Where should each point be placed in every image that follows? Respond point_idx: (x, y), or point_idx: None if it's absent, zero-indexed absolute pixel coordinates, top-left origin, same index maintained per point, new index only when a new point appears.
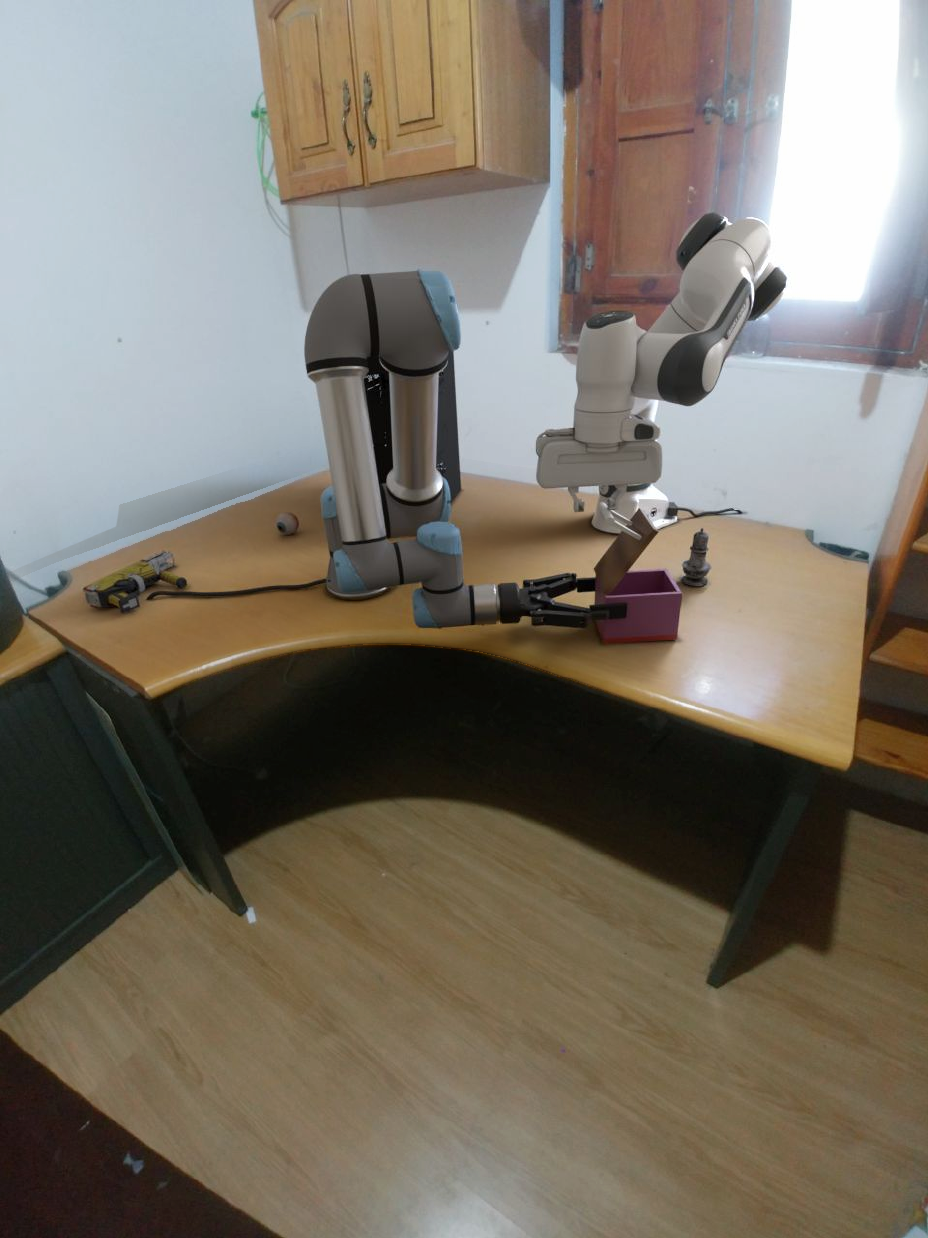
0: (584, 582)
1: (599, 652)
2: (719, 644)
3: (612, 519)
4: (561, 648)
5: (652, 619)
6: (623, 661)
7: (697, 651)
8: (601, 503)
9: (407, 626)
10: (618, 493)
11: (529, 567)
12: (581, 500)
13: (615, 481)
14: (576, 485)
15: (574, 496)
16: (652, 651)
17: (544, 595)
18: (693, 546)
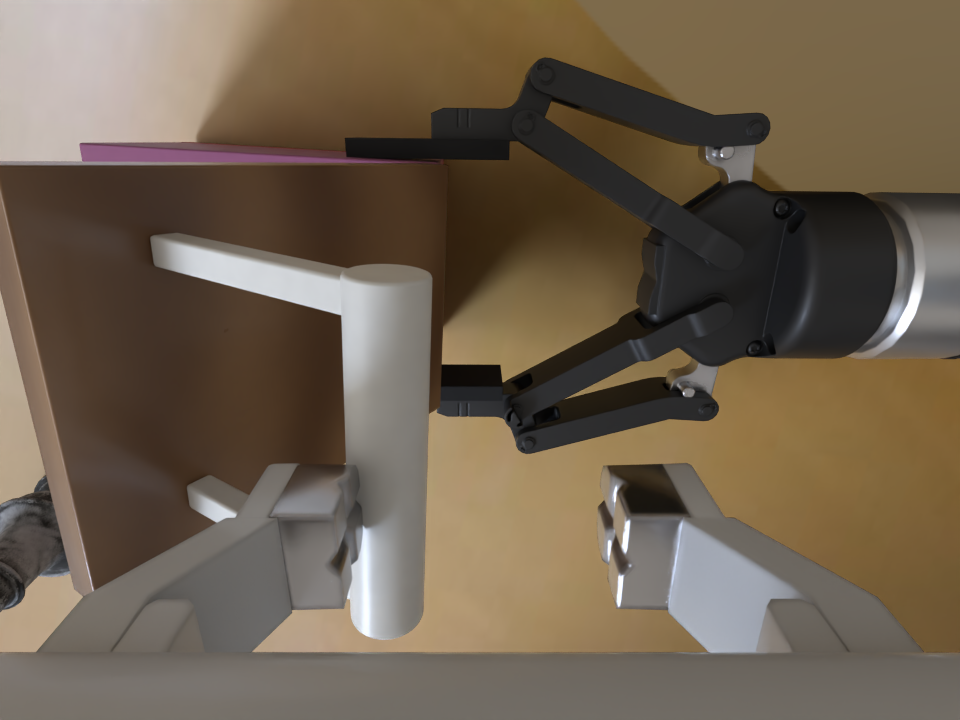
0: (476, 381)
1: (468, 99)
2: (49, 97)
3: (361, 273)
4: (589, 142)
5: (253, 148)
6: (399, 26)
7: (132, 60)
8: (393, 615)
9: None
10: (208, 591)
11: (570, 634)
12: (639, 571)
13: (177, 693)
14: (917, 662)
15: (788, 564)
16: (287, 81)
17: (667, 282)
18: (4, 590)
